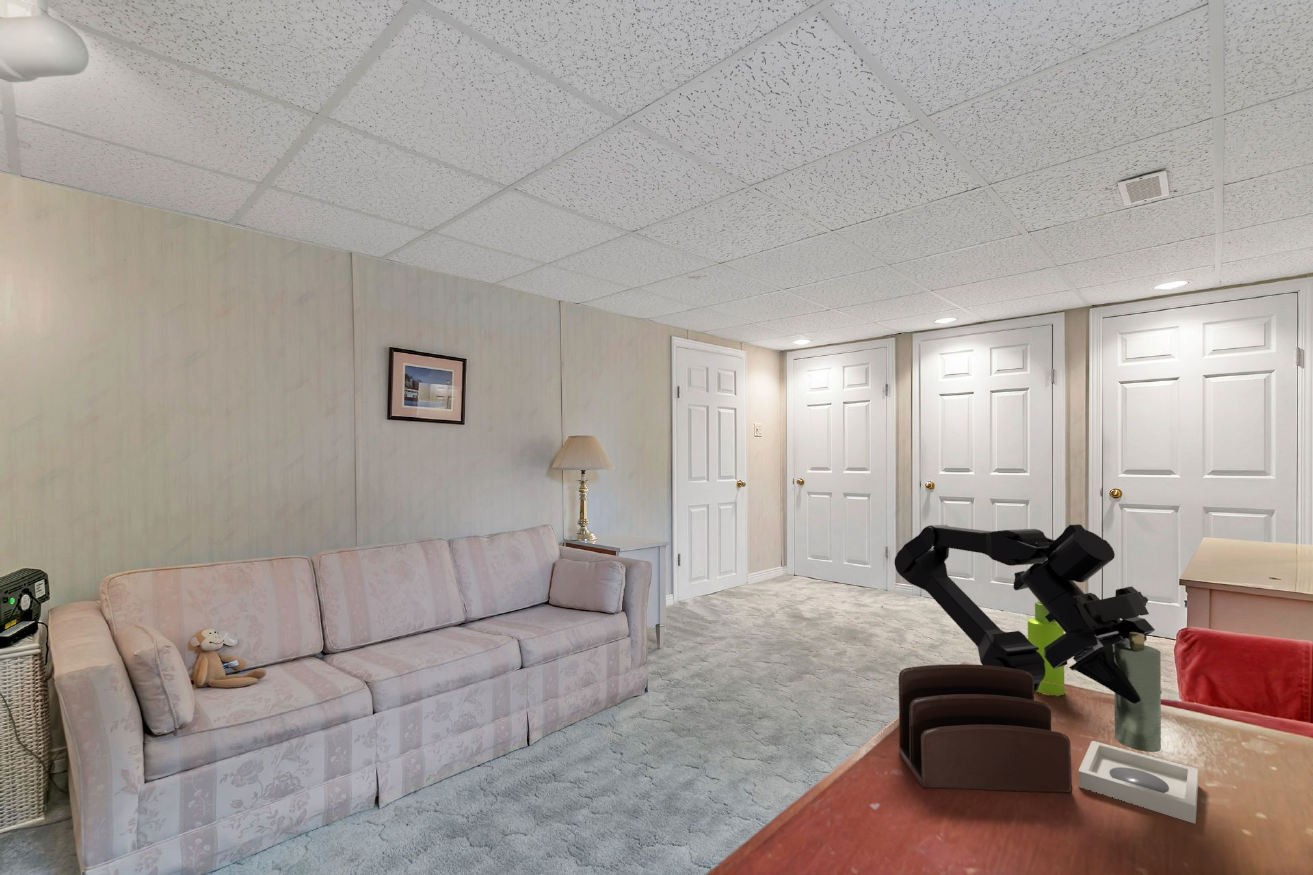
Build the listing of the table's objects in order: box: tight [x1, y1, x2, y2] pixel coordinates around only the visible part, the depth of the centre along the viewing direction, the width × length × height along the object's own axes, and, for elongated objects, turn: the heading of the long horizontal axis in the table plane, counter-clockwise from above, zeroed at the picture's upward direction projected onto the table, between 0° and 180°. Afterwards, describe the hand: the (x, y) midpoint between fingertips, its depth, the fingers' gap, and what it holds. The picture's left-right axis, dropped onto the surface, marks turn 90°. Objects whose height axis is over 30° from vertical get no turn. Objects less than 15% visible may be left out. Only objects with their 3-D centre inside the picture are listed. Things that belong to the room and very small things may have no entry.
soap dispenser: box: [1027, 600, 1065, 697], centre depth 117 cm, size 6×7×20 cm
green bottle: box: [1114, 632, 1162, 753], centre depth 84 cm, size 5×5×15 cm
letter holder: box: [898, 663, 1073, 794], centre depth 87 cm, size 10×20×14 cm, turn 86°
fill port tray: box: [1077, 740, 1199, 825], centre depth 83 cm, size 12×12×2 cm
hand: (1148, 698), depth 82 cm, fingers closed on green bottle, 5 cm apart
